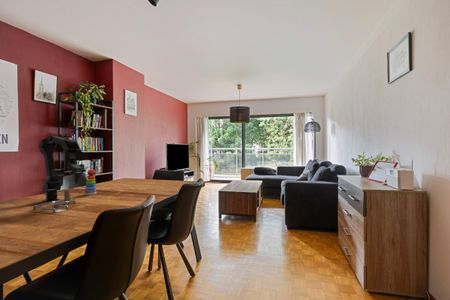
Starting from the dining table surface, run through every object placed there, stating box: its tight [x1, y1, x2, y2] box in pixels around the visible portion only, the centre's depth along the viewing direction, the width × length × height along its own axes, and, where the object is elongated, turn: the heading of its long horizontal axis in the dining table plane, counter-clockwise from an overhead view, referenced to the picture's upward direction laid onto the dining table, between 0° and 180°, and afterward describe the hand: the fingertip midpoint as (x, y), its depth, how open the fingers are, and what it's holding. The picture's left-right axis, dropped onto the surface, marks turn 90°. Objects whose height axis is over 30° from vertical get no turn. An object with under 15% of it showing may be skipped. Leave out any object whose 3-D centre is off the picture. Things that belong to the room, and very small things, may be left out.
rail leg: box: [32, 199, 77, 211], centre depth 141 cm, size 8×20×2 cm, turn 159°
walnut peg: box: [63, 190, 72, 205], centre depth 148 cm, size 3×3×8 cm
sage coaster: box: [51, 208, 67, 213], centre depth 132 cm, size 5×5×1 cm
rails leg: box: [33, 203, 69, 214], centre depth 134 cm, size 17×8×2 cm, turn 69°
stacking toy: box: [83, 168, 97, 196], centre depth 177 cm, size 8×8×19 cm
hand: (69, 184), depth 148 cm, fingers open, 9 cm apart
